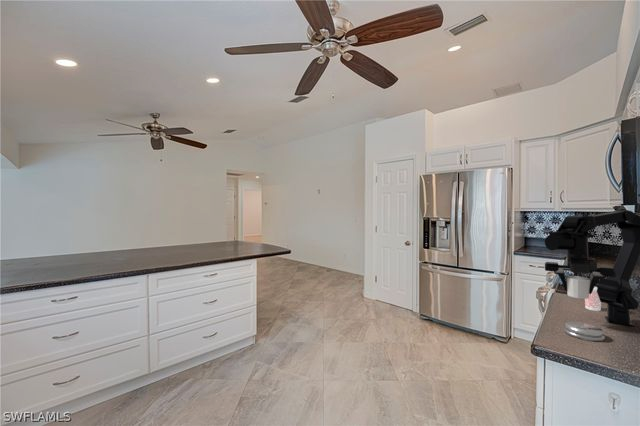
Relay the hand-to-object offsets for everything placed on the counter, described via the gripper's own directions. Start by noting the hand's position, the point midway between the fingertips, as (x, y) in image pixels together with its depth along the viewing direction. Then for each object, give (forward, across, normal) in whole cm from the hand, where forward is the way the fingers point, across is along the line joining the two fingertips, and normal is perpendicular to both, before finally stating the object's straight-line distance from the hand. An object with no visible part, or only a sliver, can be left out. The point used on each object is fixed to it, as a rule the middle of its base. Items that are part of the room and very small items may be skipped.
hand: (577, 292), depth 102 cm
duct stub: (+12, 0, -11) cm, 16 cm away
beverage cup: (+12, +7, +25) cm, 28 cm away
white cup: (+2, 0, 0) cm, 2 cm away
